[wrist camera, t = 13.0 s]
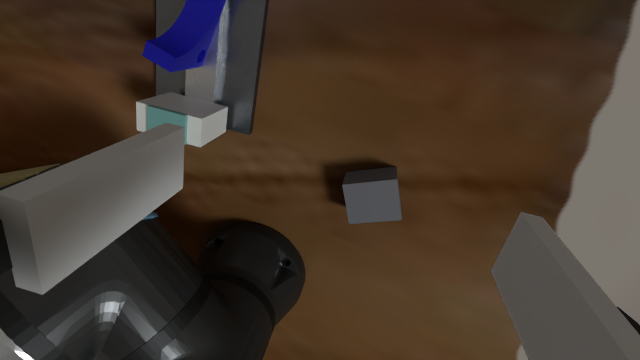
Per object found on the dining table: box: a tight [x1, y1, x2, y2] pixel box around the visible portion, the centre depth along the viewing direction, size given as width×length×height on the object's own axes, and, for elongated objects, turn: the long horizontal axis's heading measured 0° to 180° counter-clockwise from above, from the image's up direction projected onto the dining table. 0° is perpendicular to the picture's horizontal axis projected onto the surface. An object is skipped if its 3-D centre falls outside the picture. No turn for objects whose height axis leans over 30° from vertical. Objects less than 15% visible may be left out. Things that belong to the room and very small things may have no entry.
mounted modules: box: [136, 92, 228, 147], centre depth 32 cm, size 26×7×6 cm, turn 168°
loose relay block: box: [342, 167, 402, 224], centre depth 40 cm, size 5×6×4 cm
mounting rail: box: [156, 0, 269, 135], centre depth 36 cm, size 26×12×2 cm, turn 168°
